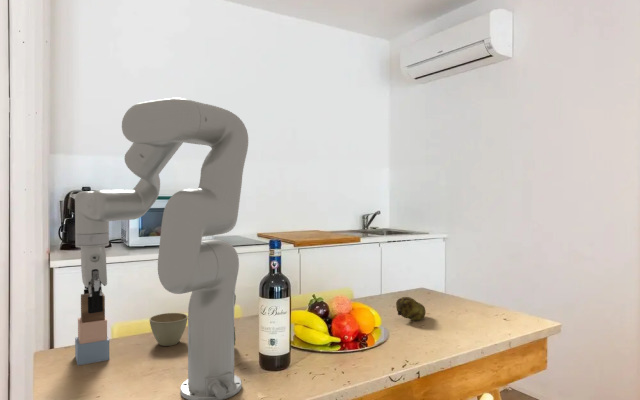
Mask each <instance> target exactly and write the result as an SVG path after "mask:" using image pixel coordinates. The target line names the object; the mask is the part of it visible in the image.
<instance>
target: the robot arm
mask: <svg viewBox="0 0 640 400" xmlns="http://www.w3.org/2000/svg"><path fill="white" fill-rule="evenodd" d="M121 131H122V134H123V136H124V137H125V139H126V140H128V141H129V142H131V143H132V144H131V145H130V147H129V149H127V150H126V153H125V154H124V163H125V165H126V167H127V169H129V170H130V171H131V172H132V173H133V174H134V175H135V176H136V177H138V178H140V179H139V181H138V182H137V184H136V185H135V186H134V188H132V189H125V190H124V189H112V190H111V189H101V190H94V191H93V190H89V191H87V190H86V191H79V192H77V193H76V195H75V196H74V214H75V215H74V218H75V219H74V221H75V223H74V225H75V226H74V227H75V228H74V229H75V231H74V232H75V236H74V237H75V248H79V249H80V267H81V268H80V269H81V280H82V283H83V285H84V289H83V294H89V297H88V313H97V312H102V311H103V295H102V292H103V287H102V285H103V286H104V287H105V286H106V287H107V285H108V275H107V274H108V273H107V255H106V247H108V246H109V245H110V233H109V232H110V226H109V225H110V223H109V222H117V221H131V220H132V221H133V220H138V219H140V218H141V217H143V216H144V215H145V214H146V213H147V212H148V211H149V210H150V209H151V208H152V206H153V205H154V204H155V202H156V201H157V199H158V197H159V194H160V189H161V179H160V174H161V173H162V171H163V170H164V168H166V165H167V164H168V163H169V161H171V159H172V158H173V157H174V156H175V154H176V153H177V151H178V150H179V149H180V148H181V146H182V145H183V143H185V144H192V145H193V144H194V145H199V146H200V145H201V146H208V147H210V148H211V149H210V151H209V152H208V153H207V155H206V156H205V158H204V160H203V162H202V165H201V168H200V179H199V183H198V188H186V189H181V190H179V191H176V192H174V193H173V194H172V195H171V196H170V198H169V199H168V200H167V201H166V204H165V207H164V209H163V213H162V219H161V228H160V237H159V245H158V257H157V276H158V278H159V282H160V284H161V285H162V287H163V289H165V290H166V291H167V292H169V293H171V294H174V295H181V294H186V293H187V294H188V293H191V294H190V298H189V301H188V308H187V316H188V318H187V379H186V380H185V381H183V383H182V384H181V385H180V387H179V388H180V393H179V394H180V395H181V396H182V397H183V398H184V399H185V400H227V399H229V398H231V397H234V396H235V395H237V394H238V393H239V392H240V391H241V389H242V386H243V385H242V379H241V378H240V377H239V376H238V375H236V374H235V346H234V327H235V307H234V301H235V302H236V300H235V295H236V285H237V280H238V275H239V268H240V261H239V254H238V252H237V250H236V248H235V247H234V246H233V245H232V244H230V243H229V242H227V241H225V240H220V239H208V240H203V237H212V236H218V235H223V234H227V233H230V232H231V231H232V230H233V229H234V228H235V226H236V224H237V221H238V216H239V209H240V208H239V207H240V202H241V200H240V199H241V192H242V185H243V175H244V169H245V163H246V158H247V153H248V147H249V133H248V130H247V127H246V125H245V123H244V122H243V120H242V119H241V118H240V117H239V116H238V115H237V114H235V113H234V112H232V111H230V110H228V109H226V108H222V107H220V106H216V105H213V104H208V103H203V102H198V101H195V100H191V99H187V98H181V97H172V98H170V97H169V98H164V99H162V98H161V99H157V100H156V99H155V100H149V101H144V102H139V103H136V104H134V105H132V106H130V108H128V109H127V110H126V112H125V114H124V115H123V117H122V121H121Z"/></svg>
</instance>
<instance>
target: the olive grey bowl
mask: <svg viewBox="0 0 640 400" xmlns="http://www.w3.org/2000/svg"><path fill="white" fill-rule="evenodd" d="M187 324H188V314H185V313H181V312H166V313H161V314H160V313H159V314H155V315H152V316H150V317H149V325H150V329H151V332H152V334H153V336H154V339H155V340H156V342H157V344H158V345H159V346H162V347H168V346H169V347H171V346H174V344H175V345H177V344H178V343H179V342H180V340H181V339H182V336H183V335H184V332H185V329H186V326H187Z"/></svg>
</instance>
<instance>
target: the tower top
mask: <svg viewBox="0 0 640 400" xmlns="http://www.w3.org/2000/svg"><path fill="white" fill-rule="evenodd" d="M77 337H78V339H79V343H80V344H85V343H91V342H97V341H104V340H107V337H108V319H107V317H106V316H105V320H99V321H91V322H84V323H82V320H81V317H77Z"/></svg>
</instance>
